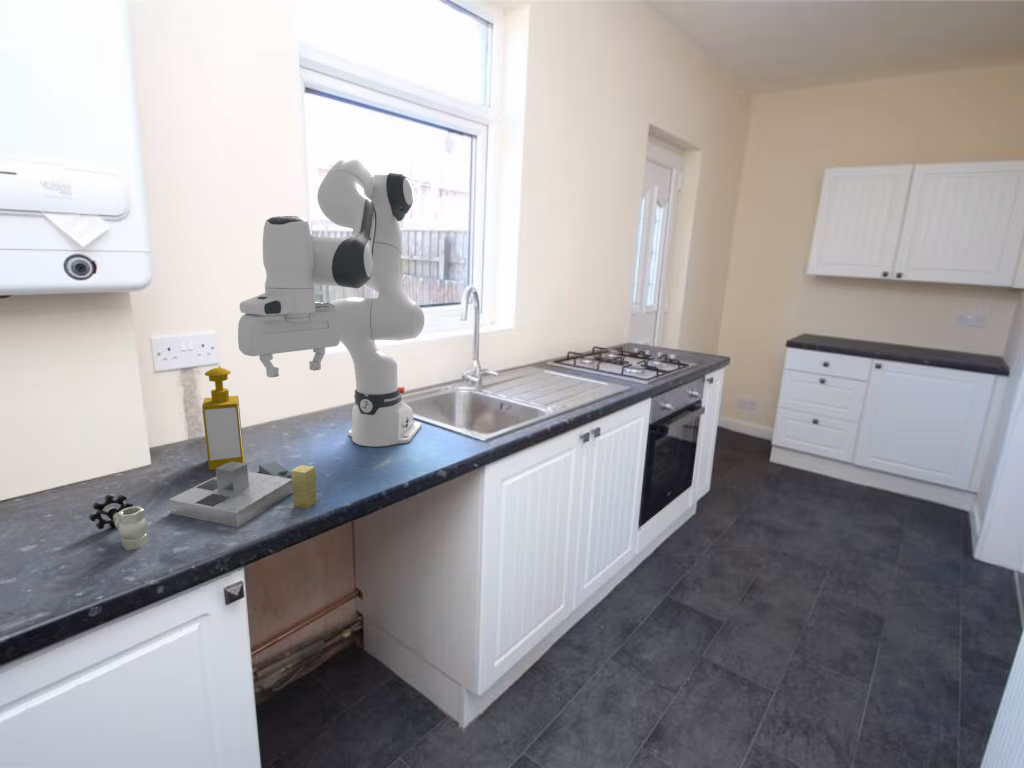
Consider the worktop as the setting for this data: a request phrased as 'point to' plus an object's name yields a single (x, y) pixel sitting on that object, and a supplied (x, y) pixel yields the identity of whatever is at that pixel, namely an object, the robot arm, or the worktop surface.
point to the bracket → (274, 470)
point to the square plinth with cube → (231, 495)
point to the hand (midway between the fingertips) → (294, 373)
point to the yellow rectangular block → (304, 486)
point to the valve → (123, 521)
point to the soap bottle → (222, 423)
